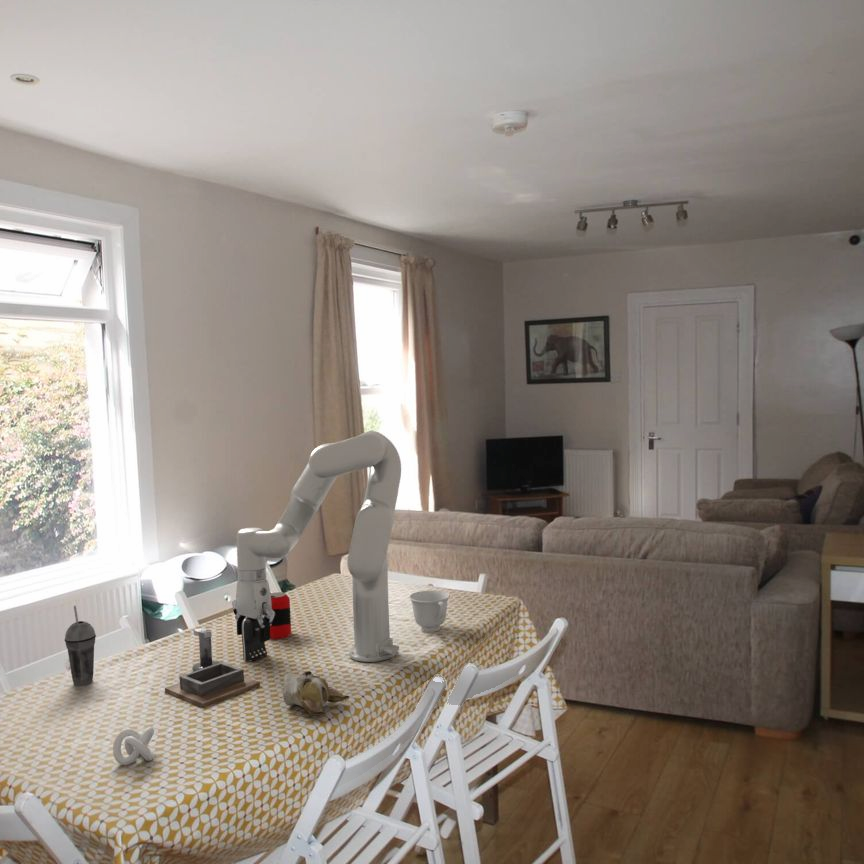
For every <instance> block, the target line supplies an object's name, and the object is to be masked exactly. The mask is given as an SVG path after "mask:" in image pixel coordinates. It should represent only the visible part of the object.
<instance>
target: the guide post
mask: <svg viewBox="0 0 864 864" xmlns="http://www.w3.org/2000/svg"><path fill="white" fill-rule="evenodd" d="M193 635H194V636H197V637H198V645H199V646H198V647H199V661H200V662H197V663H195V664H194V665H192V672H194V671H197V670H200V669H203V668H206V667H208V666H211V665H214V664H217V663H220V662H221V661H218V660H213V652H212V650H213V649H212V647H213V646H212V631H211V630H210V629H204V628H201V627H199V628H196V629H193Z"/></svg>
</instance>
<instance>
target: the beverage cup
mask: <svg viewBox="0 0 864 864" xmlns="http://www.w3.org/2000/svg"><path fill="white" fill-rule="evenodd" d="M73 611H74V618H75V622H74V623H72V624H71V625H69V627H68V628H67V629H66V631H65V636H64V642H65V647H66V649H67V653H68V660H69V667H70V673H71V679H72V683H73V686H75V687H83V686H87V685H90V684H92V683H93V681H94V680H93V679H94V667H95V666H94V665H95V663H94V661H95V659H94V657H95V655H94V654H95V643H96V637H97V635H96V632H95V628H94V627H93V626H92V625H91V623H89V622H87V621H83V620H79V618H78V612H77V606H76V605H73Z"/></svg>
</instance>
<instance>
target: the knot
mask: <svg viewBox="0 0 864 864" xmlns="http://www.w3.org/2000/svg"><path fill="white" fill-rule="evenodd" d="M154 733H155V729H154V727H152V726H148V727H146V728H145V729H144V730H143V732H142V734H140V733H139V732H138V731H137V730H135V729H134V728H129V727H128V728H124V729H122V730H121V731H119V732H118V734H117V735H116V736H115V739H114V741H113V746H112V753H113V757H114V759H115V761H116V762H117V764H119V765H121V766H129V765H132V764H133V763H134V762H135V761H136V760H137V759H138V757H139V756H140V755H141V756H142V757H143V758H144V759H145V760H146V761H147V762H151V761H152V760H153V759H154V755H153V753H152V752H151V749H150V748H149V747H148V745H149V743H150V742H151V740H152V738H153V736H154ZM123 740H124V748H125V751H126V753H127V754H128V756H127V757H125V756H124V754H123V753H122V743H123Z"/></svg>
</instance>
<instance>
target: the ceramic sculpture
mask: <svg viewBox="0 0 864 864" xmlns="http://www.w3.org/2000/svg"><path fill="white" fill-rule="evenodd" d="M282 693H283V695H282V696H283V702H284V704H285V705H287V706H288V707H291V706H295V705H297V706H299V707H302V708H304V710H305V711H306V712H307V713H308V714H309V715H314V716H319V715H323V714H325V711H324V706H325V705H326V704H327V703H332V704H333V703H334V704H336V703H340V702H344V701H346V700H348V699H350V698H351V697H350V696H349V695H344V694H343V693H341V692H339V690H338V689H336V688H333V687H332V686H329V684H328V682H327V681H326V680H325V678H324V677H320V676H319V675H313V673H312V672H311V671H305V672H301V673H300V674H297V673H293V672H289V671H285V672H284V674H283V692H282Z"/></svg>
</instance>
